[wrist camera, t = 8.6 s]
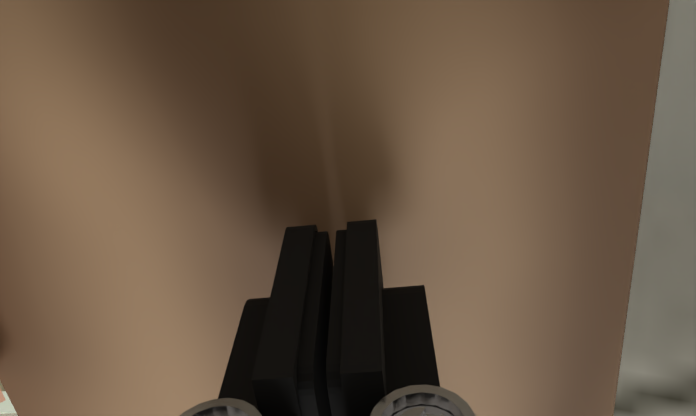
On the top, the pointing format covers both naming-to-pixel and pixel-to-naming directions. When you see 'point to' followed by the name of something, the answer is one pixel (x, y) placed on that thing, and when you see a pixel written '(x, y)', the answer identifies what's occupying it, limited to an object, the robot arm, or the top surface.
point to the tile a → (2, 397)
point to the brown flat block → (319, 185)
